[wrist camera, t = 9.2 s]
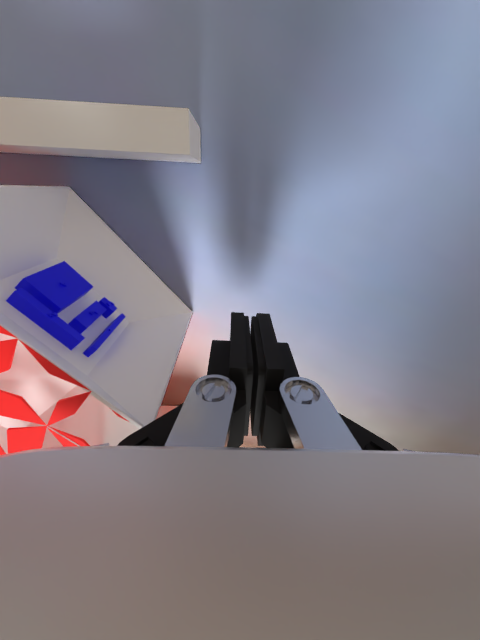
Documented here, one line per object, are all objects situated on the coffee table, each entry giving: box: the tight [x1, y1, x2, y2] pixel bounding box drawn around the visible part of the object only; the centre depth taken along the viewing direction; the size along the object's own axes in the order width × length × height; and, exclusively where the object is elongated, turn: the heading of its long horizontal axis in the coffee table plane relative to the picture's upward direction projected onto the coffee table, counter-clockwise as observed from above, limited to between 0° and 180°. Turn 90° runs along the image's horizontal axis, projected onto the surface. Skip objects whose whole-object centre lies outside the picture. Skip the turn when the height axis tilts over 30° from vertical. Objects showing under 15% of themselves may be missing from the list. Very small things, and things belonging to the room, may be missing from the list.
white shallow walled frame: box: [0, 97, 201, 418], centre depth 13 cm, size 15×16×3 cm
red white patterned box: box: [0, 185, 193, 455], centre depth 10 cm, size 8×8×8 cm
